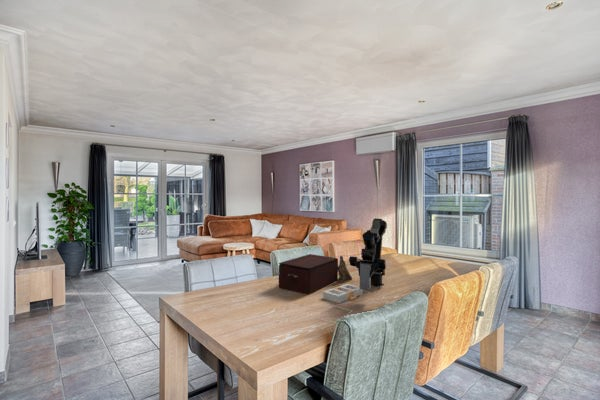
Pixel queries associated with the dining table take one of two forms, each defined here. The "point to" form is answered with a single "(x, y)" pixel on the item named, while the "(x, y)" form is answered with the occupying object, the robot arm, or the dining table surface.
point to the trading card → (327, 309)
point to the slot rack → (342, 293)
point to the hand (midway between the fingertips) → (364, 276)
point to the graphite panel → (365, 276)
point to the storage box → (308, 273)
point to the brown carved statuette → (343, 272)
